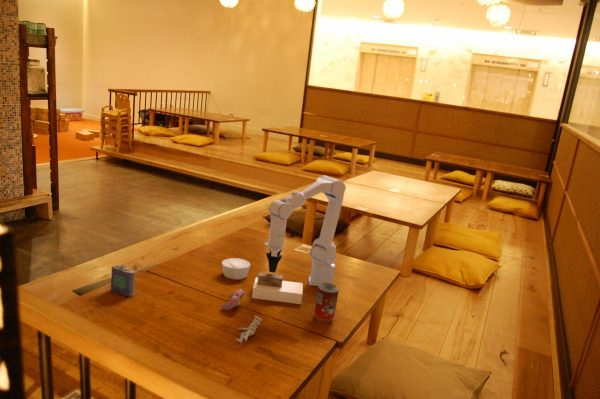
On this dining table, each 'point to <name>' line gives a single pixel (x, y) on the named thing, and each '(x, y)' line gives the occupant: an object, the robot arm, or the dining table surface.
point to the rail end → (270, 280)
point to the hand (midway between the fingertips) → (272, 268)
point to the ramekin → (235, 268)
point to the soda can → (326, 302)
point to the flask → (122, 281)
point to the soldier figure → (249, 329)
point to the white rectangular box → (279, 292)
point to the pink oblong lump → (233, 300)
